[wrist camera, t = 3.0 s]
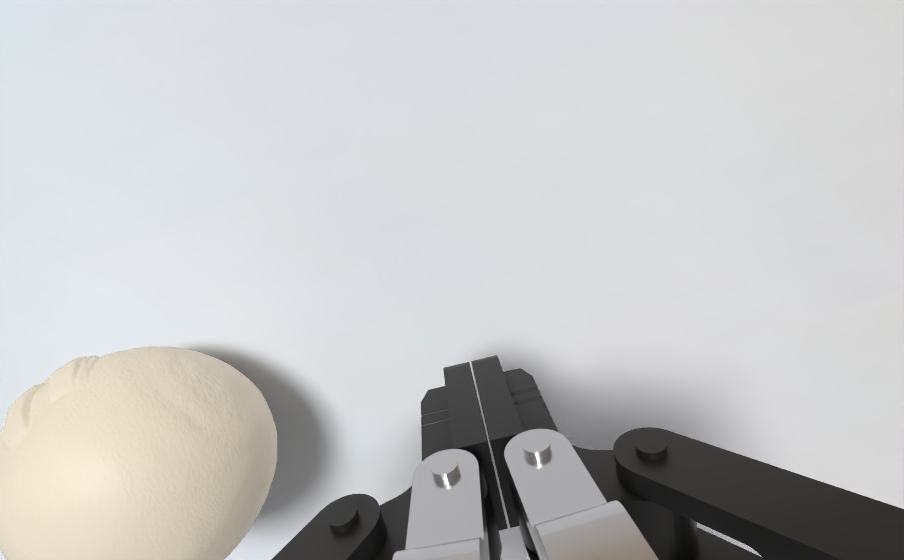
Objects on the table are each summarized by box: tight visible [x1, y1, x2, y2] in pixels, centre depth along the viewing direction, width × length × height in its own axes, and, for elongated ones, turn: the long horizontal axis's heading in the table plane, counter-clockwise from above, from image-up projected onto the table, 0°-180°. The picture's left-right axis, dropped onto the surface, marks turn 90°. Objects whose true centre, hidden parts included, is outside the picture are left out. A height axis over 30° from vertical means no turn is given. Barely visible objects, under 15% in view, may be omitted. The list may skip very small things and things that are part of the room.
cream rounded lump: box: [0, 346, 278, 560], centre depth 14 cm, size 7×7×7 cm
